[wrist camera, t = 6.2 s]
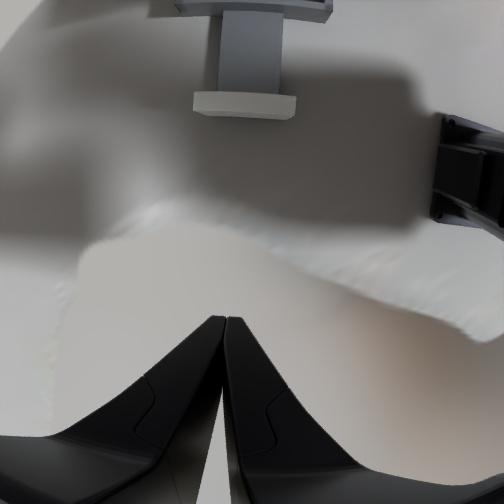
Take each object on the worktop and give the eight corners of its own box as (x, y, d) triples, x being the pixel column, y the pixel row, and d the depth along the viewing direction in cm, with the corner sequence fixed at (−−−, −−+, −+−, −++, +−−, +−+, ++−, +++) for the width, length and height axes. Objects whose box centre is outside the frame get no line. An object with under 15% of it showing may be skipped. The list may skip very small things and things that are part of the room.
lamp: (325, -37, 12) (340, -71, 8) (319, 123, 15) (338, 120, 12) (191, -43, 12) (177, -78, 8) (174, 115, 15) (150, 111, 12)
